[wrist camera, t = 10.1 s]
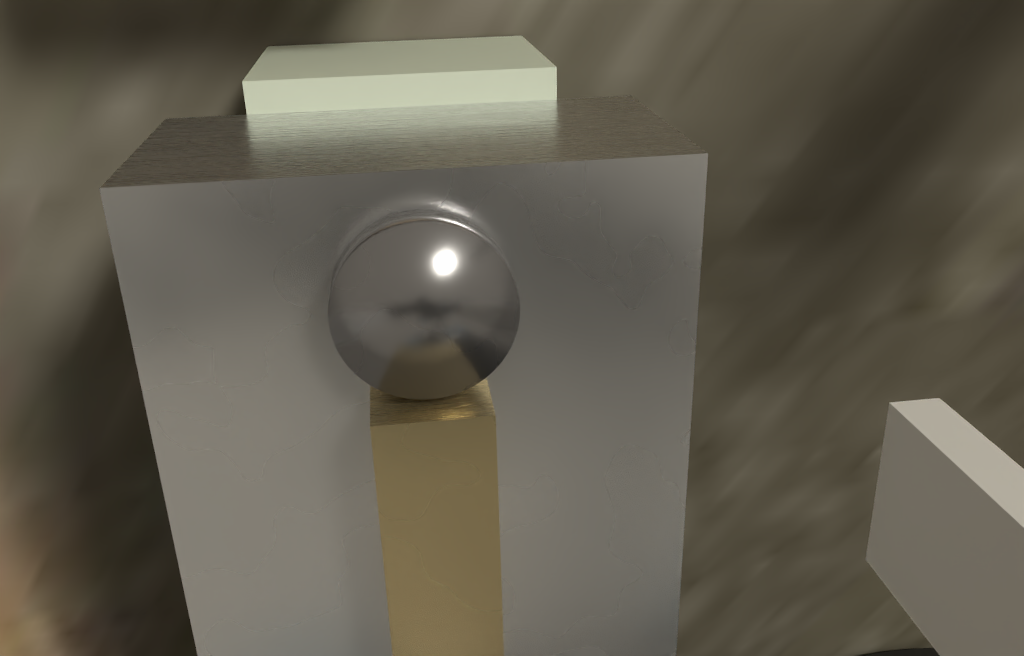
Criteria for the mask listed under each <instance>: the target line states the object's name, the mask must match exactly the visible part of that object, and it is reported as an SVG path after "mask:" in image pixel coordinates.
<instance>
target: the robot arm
mask: <svg viewBox="0 0 1024 656" xmlns="http://www.w3.org/2000/svg"><path fill="white" fill-rule="evenodd" d="M866 561H867V562H868V563H869V565H870V566H871V567H872V569H873V570H874V571H875V572H876V574H877V575H878V576H879V578H880V579H881V580H882V582H883V583H884V584H885V585H886V587H887V588H888V589H889V591H890V592H891V593H892V594H893V596H894V597H895V598H896V600H897V601H898V602H899V604H900V605H901V606H902V607H903V609H904V610H905V611H906V613H907V614H908V615H909V617H910V618H911V619H912V620H913V622H914V623H915V624H916V626H917V627H918V628H919V629H920V631H921V632H922V633H923V635H924V636H925V637H926V639H927V640H928V641H929V642H930V644H931V645H932V646H933V648H923V649H905V650H894V651H888V652H881V653H875V654H870V655H865V656H1024V469H1023V468H1022V467H1021V466H1020V465H1018V464H1017V463H1016V462H1015V461H1014V460H1012V459H1011V458H1010V457H1009V456H1008V455H1006V454H1005V453H1004V452H1003V451H1002V450H1000V449H999V448H998V447H997V446H996V445H995V444H993V443H992V442H991V441H990V440H989V439H987V438H986V437H985V436H984V435H983V434H981V433H980V432H979V431H978V430H977V429H975V428H974V427H973V426H972V425H971V424H970V423H968V422H967V421H966V420H965V419H964V418H962V417H961V416H960V415H959V414H958V413H956V412H955V411H954V410H953V409H952V408H950V407H949V406H948V405H947V404H946V403H945V402H943V401H942V400H941V399H940V398H935V399H924V400H913V401H902V402H890V403H889V408H888V414H887V421H886V428H885V434H884V441H883V448H882V454H881V461H880V468H879V474H878V481H877V487H876V494H875V501H874V507H873V514H872V521H871V527H870V534H869V541H868V547H867V554H866Z"/></svg>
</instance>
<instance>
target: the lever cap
mask: <svg viewBox="0 0 1024 656" xmlns="http://www.w3.org/2000/svg"><path fill="white" fill-rule="evenodd" d="M707 163H708V153H707V152H706V151H704V150H703V149H702V148H700V147H699V146H698V145H696V144H695V143H694V142H692V141H691V140H690V139H688V138H687V137H686V136H684V135H683V134H682V133H680V132H679V131H678V130H676V129H675V128H674V127H672V126H671V125H670V124H668V123H667V122H666V121H664V120H663V119H662V118H660V117H659V116H658V115H656V114H655V113H654V112H652V111H651V110H650V109H648V108H647V107H646V106H644V105H643V104H641V103H640V102H639V101H637V100H636V99H635V98H633V97H632V96H613V97H593V98H573V99H552V100H532V101H512V102H492V103H472V104H451V105H431V106H411V107H391V108H371V109H350V110H330V111H310V112H290V113H270V114H249V115H229V116H209V117H189V118H169V119H165V120H164V121H163V122H162V123H161V124H160V125H159V126H158V127H157V128H156V129H155V131H154V132H153V133H152V134H151V135H150V136H149V137H148V138H147V139H146V140H145V141H144V142H143V143H142V144H141V145H140V146H139V147H138V148H137V149H136V150H135V151H134V152H133V154H132V155H131V156H130V157H129V158H128V159H127V160H126V161H125V162H124V163H123V164H122V165H121V166H120V167H119V168H118V169H117V170H116V171H115V172H114V173H113V174H112V175H111V176H110V178H109V179H108V180H107V181H106V182H105V183H104V184H103V185H102V186H101V187H100V188H99V189H100V194H101V198H102V203H103V208H104V213H105V217H106V222H107V227H108V232H109V236H110V241H111V246H112V251H113V255H114V260H115V265H116V270H117V275H118V279H119V284H120V289H121V294H122V298H123V303H124V308H125V313H126V317H127V322H128V327H129V332H130V336H131V341H132V346H133V351H134V355H135V360H136V365H137V370H138V374H139V379H140V384H141V389H142V393H143V398H144V403H145V408H146V413H147V417H148V422H149V427H150V432H151V436H152V441H153V446H154V451H155V455H156V460H157V465H158V470H159V474H160V479H161V484H162V489H163V493H164V498H165V503H166V508H167V512H168V517H169V522H170V527H171V531H172V536H173V541H174V546H175V551H176V555H177V560H178V565H179V570H180V574H181V579H182V584H183V589H184V593H185V598H186V603H187V608H188V612H189V617H190V622H191V627H192V631H193V636H194V641H195V646H196V650H197V655H198V656H676V648H677V632H678V617H679V601H680V585H681V570H682V554H683V538H684V523H685V507H686V491H687V476H688V460H689V445H690V429H691V413H692V398H693V382H694V366H695V351H696V335H697V319H698V304H699V288H700V272H701V257H702V241H703V226H704V210H705V194H706V179H707Z"/></svg>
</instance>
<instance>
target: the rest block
mask: <svg viewBox="0 0 1024 656" xmlns="http://www.w3.org/2000/svg"><path fill="white" fill-rule="evenodd" d="M242 84H243V91H244V99H245V106H246V113H247V115H249V114H270V113H290V112H310V111H330V110H350V109H371V108H391V107H411V106H431V105H451V104H472V103H492V102H512V101H532V100H552V99H557V67H556V66H555V65H554V64H553V63H551V62H550V61H549V60H548V59H547V58H546V57H545V56H544V55H543V54H541V53H540V52H539V51H538V50H537V49H536V48H535V47H534V46H532V45H531V44H530V43H529V42H528V41H527V40H526V39H525V38H524V37H522V36H502V37H478V38H454V39H430V40H406V41H382V42H358V43H334V44H310V45H286V46H268V47H267V48H266V49H265V51H264V52H263V54H262V55H261V56H260V58H259V59H258V60H257V62H256V63H255V64H254V66H253V67H252V69H251V70H250V71H249V73H248V74H247V75H246V77H245V78H244V80H243V81H242Z"/></svg>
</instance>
